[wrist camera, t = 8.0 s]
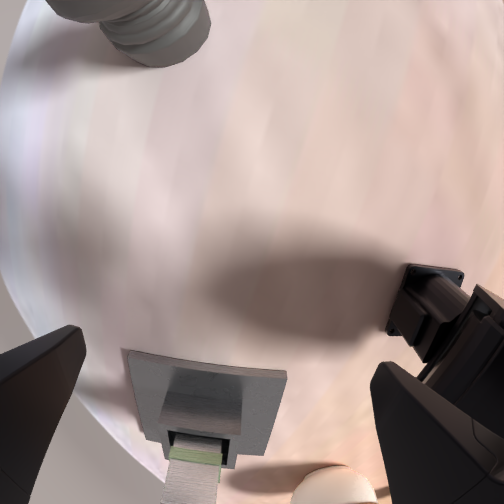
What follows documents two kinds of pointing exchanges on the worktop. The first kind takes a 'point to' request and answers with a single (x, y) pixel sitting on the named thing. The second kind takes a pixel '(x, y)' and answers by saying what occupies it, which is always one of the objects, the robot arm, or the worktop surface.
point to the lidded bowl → (334, 487)
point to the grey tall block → (193, 471)
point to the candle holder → (145, 26)
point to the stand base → (206, 403)
